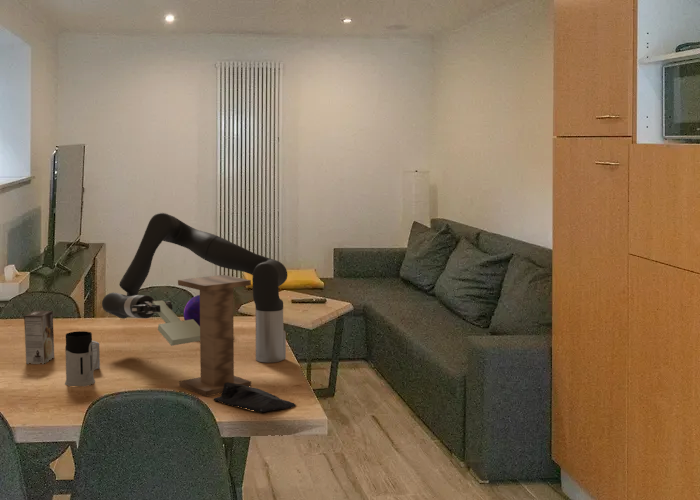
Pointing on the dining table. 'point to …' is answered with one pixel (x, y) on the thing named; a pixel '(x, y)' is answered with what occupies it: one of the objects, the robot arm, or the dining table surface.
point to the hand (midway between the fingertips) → (165, 307)
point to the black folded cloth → (251, 398)
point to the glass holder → (80, 359)
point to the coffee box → (39, 337)
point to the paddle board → (176, 327)
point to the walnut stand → (215, 333)
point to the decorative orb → (193, 310)
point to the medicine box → (95, 355)
